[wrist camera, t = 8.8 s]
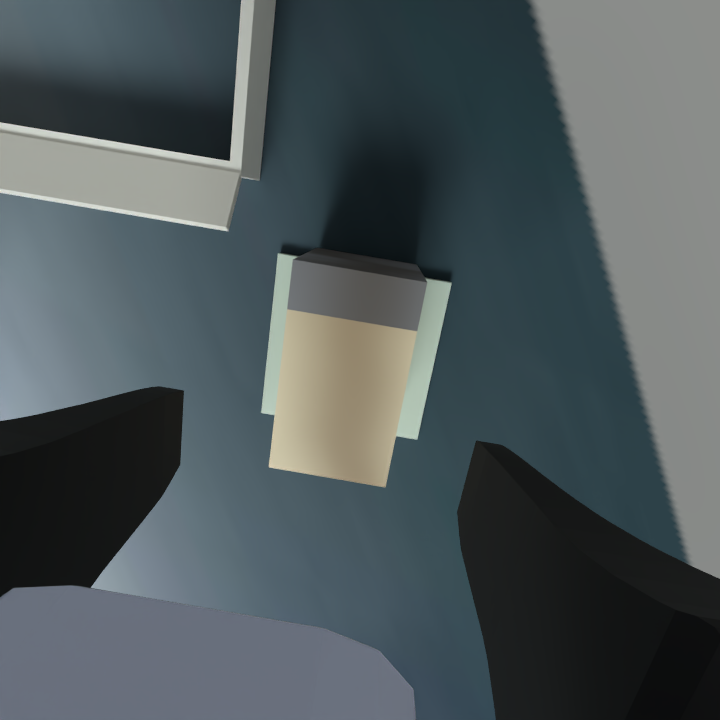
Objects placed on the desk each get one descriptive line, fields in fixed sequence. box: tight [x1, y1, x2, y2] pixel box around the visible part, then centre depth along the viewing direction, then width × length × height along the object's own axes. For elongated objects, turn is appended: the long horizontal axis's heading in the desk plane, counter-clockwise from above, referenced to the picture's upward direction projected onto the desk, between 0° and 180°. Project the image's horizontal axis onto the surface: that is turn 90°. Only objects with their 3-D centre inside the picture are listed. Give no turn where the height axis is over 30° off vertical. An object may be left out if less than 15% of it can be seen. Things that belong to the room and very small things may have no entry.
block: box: [269, 248, 427, 487], centre depth 17 cm, size 4×7×5 cm, turn 171°
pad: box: [261, 253, 452, 439], centre depth 20 cm, size 7×7×1 cm
